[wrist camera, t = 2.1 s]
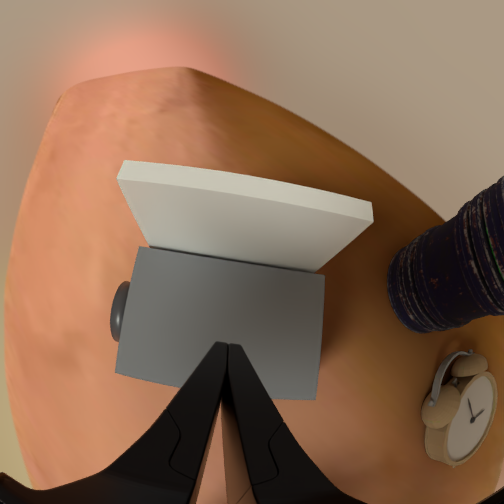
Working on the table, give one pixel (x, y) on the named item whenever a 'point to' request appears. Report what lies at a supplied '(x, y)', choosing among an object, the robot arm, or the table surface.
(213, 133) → the table surface
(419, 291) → the storage jar
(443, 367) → the alarm clock
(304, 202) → the door
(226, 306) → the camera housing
